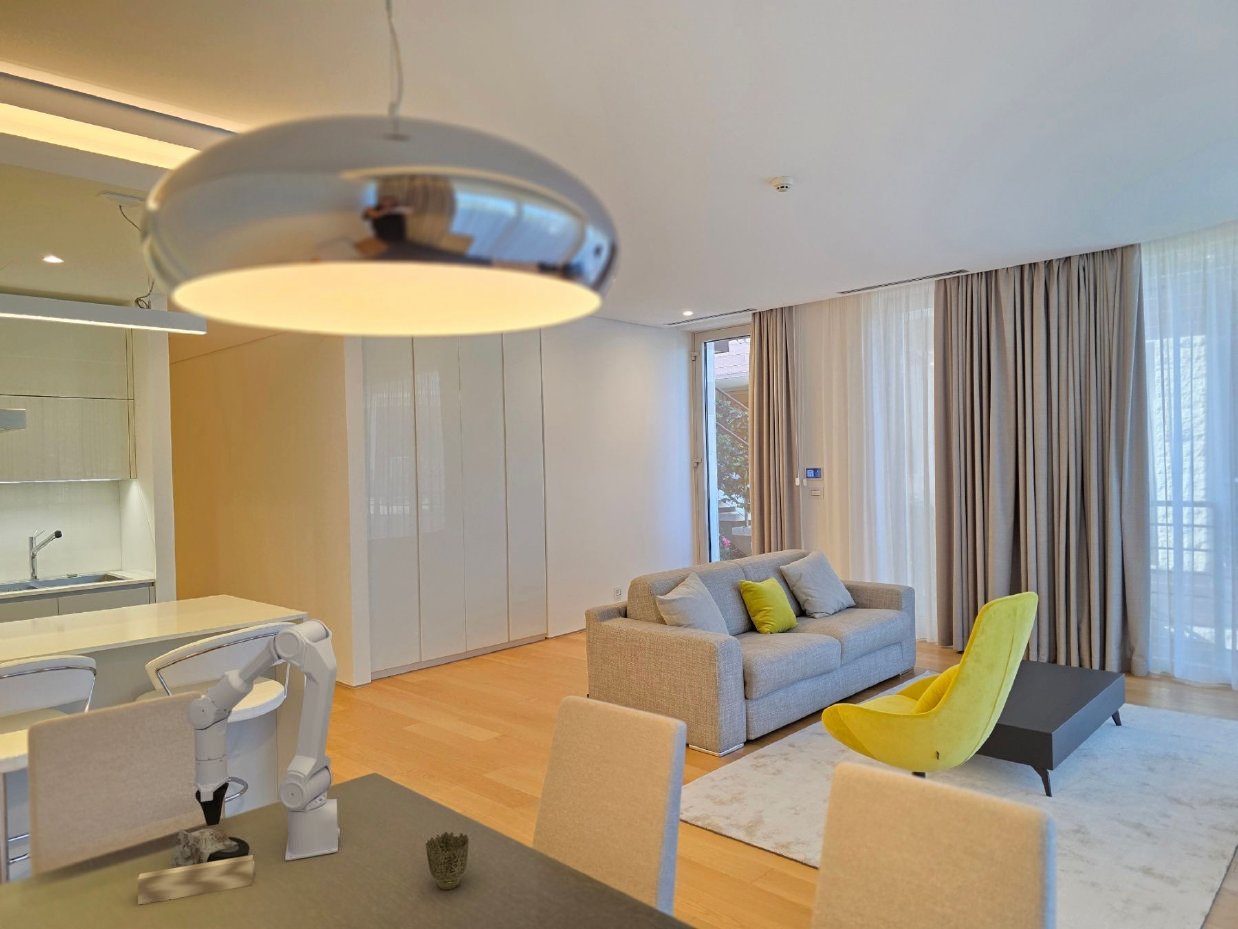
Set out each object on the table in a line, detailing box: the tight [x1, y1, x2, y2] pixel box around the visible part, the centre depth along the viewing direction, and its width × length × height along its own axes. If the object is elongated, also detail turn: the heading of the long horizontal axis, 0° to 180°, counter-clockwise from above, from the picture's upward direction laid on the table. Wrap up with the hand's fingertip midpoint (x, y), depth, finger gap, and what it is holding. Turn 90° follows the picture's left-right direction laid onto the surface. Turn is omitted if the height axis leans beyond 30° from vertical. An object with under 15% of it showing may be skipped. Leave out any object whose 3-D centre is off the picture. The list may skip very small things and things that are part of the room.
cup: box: [425, 831, 470, 891], centre depth 144 cm, size 8×7×8 cm
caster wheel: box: [170, 827, 250, 868], centre depth 155 cm, size 7×11×10 cm
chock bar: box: [137, 854, 256, 906], centre depth 146 cm, size 18×5×4 cm, turn 109°
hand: (213, 824), depth 164 cm, fingers closed
